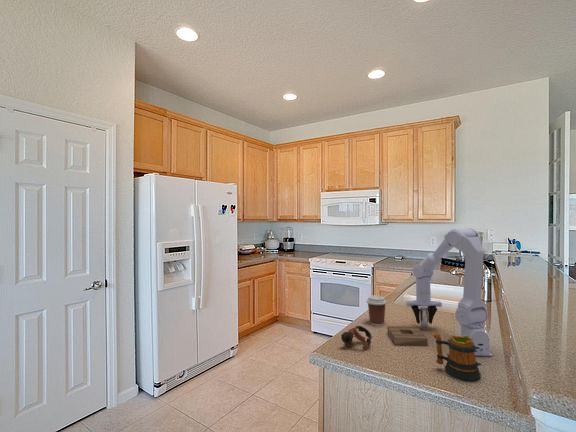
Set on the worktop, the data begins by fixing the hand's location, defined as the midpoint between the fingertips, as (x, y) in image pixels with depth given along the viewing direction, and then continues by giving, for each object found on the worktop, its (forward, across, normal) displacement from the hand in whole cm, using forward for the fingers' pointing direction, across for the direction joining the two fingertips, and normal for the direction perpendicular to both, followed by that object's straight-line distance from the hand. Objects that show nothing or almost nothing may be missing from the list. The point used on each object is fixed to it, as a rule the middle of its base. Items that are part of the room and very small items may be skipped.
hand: (424, 323), depth 128 cm
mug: (+3, +3, +37) cm, 37 cm away
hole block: (+2, +11, +12) cm, 16 cm away
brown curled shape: (+3, +32, +19) cm, 38 cm away
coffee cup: (+3, +19, -6) cm, 20 cm away
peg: (+2, 0, 0) cm, 2 cm away
